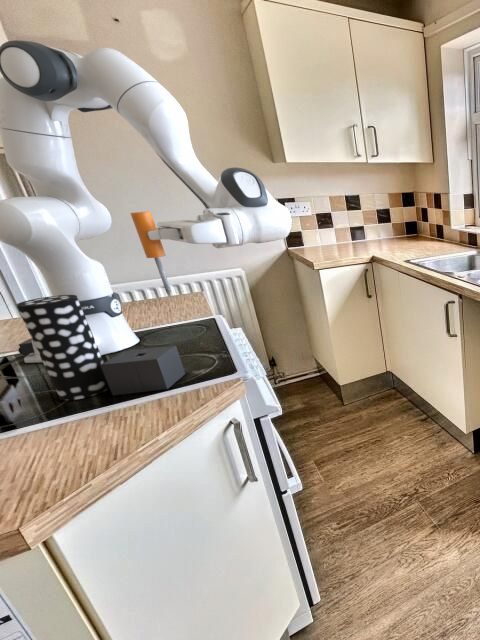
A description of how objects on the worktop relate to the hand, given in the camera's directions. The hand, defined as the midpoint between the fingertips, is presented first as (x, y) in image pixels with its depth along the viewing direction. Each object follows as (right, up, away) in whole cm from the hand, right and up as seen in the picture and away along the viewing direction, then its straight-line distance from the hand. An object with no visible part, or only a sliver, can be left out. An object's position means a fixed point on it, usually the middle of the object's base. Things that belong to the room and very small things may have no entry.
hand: (144, 235), depth 87 cm
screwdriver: (+1, -12, +5) cm, 13 cm away
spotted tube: (-15, -33, +3) cm, 36 cm away
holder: (-3, -31, +5) cm, 32 cm away
